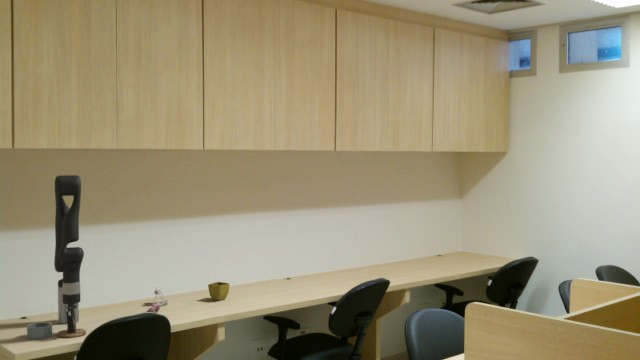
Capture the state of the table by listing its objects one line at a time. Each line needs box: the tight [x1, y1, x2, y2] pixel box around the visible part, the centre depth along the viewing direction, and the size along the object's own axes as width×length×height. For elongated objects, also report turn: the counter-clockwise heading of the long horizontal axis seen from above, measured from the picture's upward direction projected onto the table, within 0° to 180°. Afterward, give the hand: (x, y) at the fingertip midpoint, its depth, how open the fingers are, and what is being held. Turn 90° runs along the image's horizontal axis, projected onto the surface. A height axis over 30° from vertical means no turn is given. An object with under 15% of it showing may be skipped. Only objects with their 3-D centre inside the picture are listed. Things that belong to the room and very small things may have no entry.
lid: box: [57, 320, 87, 339], centre depth 293 cm, size 12×12×6 cm
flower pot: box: [207, 281, 230, 301], centre depth 366 cm, size 9×9×9 cm
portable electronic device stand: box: [152, 287, 169, 306], centre depth 355 cm, size 9×8×8 cm
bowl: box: [26, 321, 53, 340], centre depth 290 cm, size 10×10×5 cm
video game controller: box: [145, 303, 161, 313], centre depth 328 cm, size 10×5×7 cm, turn 170°
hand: (71, 330), depth 293 cm, fingers closed on lid, 3 cm apart
